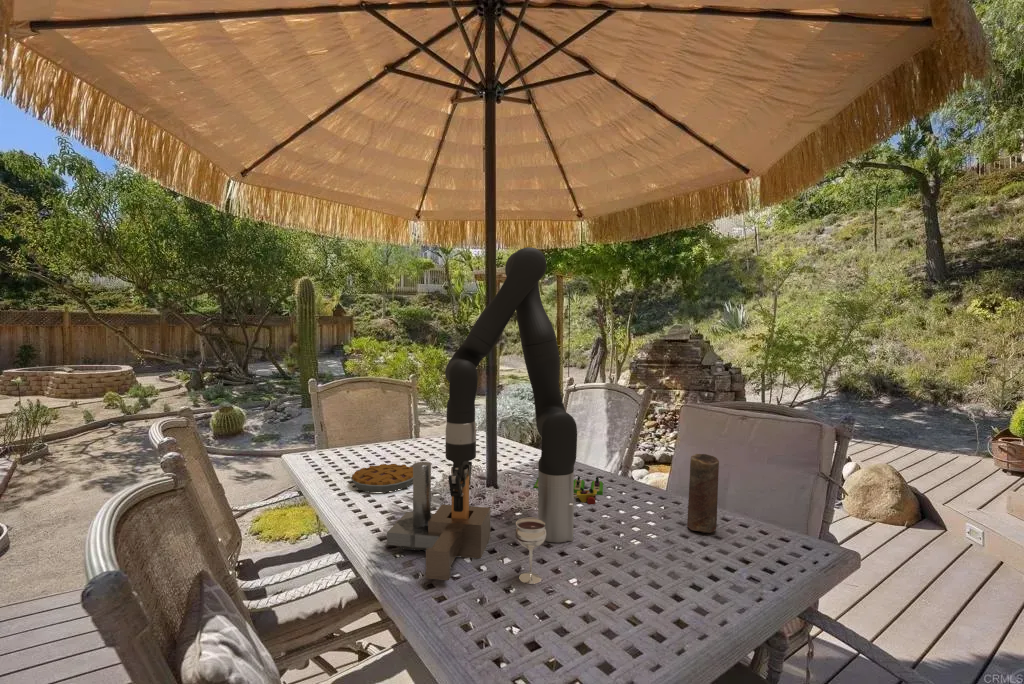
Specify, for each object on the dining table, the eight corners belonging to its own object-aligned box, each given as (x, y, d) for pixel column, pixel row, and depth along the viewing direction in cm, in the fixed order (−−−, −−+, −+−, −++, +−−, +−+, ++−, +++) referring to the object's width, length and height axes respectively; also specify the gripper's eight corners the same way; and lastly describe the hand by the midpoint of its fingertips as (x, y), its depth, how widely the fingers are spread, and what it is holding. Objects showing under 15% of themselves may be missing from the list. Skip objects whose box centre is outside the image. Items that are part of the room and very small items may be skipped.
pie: (430, 481, 169) (430, 467, 169) (382, 500, 150) (382, 484, 150) (386, 471, 180) (386, 457, 180) (337, 487, 162) (337, 472, 162)
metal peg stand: (456, 532, 126) (456, 458, 126) (440, 558, 112) (440, 474, 112) (405, 529, 129) (405, 455, 128) (383, 553, 115) (383, 471, 114)
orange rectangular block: (468, 530, 120) (469, 475, 120) (465, 536, 117) (465, 479, 116) (455, 529, 121) (455, 474, 120) (451, 535, 117) (451, 478, 117)
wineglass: (536, 589, 100) (537, 532, 99) (509, 580, 103) (509, 525, 103) (551, 575, 105) (552, 521, 105) (525, 566, 109) (525, 514, 108)
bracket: (490, 538, 123) (490, 507, 123) (467, 589, 100) (467, 551, 99) (441, 534, 125) (441, 504, 125) (407, 583, 102) (407, 546, 101)
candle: (717, 527, 131) (719, 455, 130) (717, 538, 124) (718, 462, 124) (688, 522, 134) (689, 452, 133) (685, 532, 127) (687, 458, 127)
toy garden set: (603, 486, 165) (603, 473, 165) (602, 507, 147) (602, 492, 147) (537, 481, 170) (537, 469, 170) (528, 501, 151) (528, 486, 151)
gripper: (468, 447, 111) (468, 520, 111) (481, 433, 124) (481, 498, 125) (437, 445, 112) (437, 518, 112) (453, 432, 126) (453, 497, 126)
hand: (460, 507), depth 119 cm, fingers closed on orange rectangular block, 3 cm apart
